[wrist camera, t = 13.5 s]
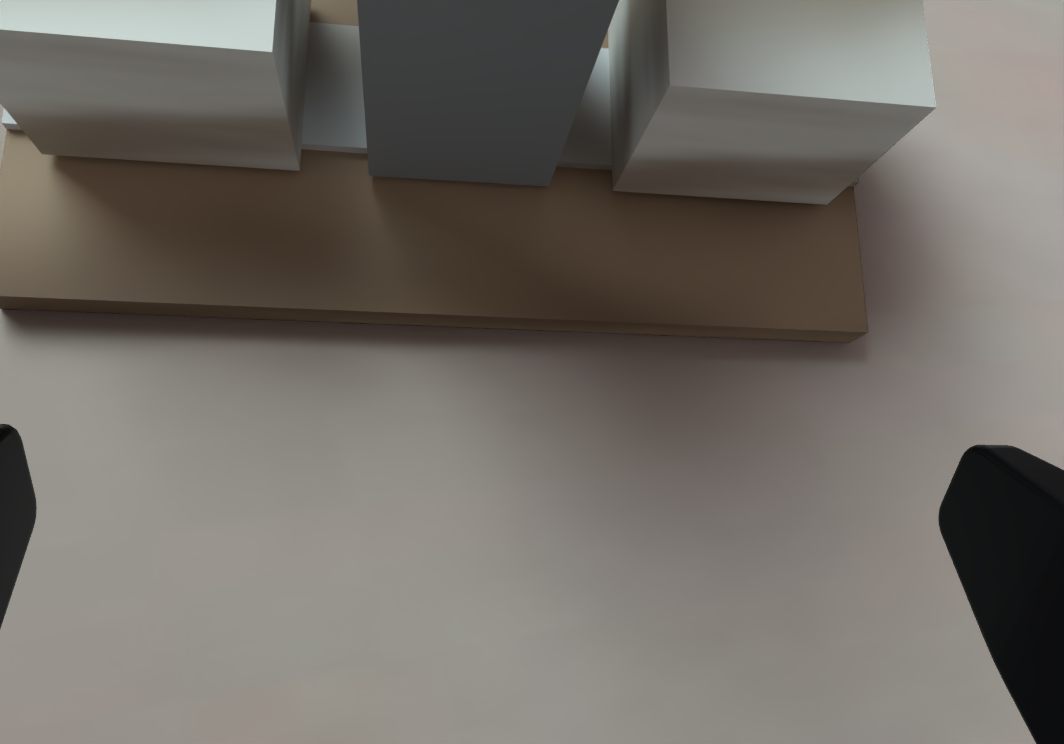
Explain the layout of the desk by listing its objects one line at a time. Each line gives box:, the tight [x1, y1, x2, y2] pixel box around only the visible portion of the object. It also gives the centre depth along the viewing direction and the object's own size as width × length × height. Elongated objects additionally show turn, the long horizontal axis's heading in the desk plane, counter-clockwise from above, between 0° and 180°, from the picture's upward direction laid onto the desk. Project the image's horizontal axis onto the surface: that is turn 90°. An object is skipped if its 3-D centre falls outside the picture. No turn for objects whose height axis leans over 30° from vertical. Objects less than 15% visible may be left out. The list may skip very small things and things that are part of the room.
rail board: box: [0, 0, 936, 342], centre depth 21 cm, size 12×22×6 cm, turn 90°
